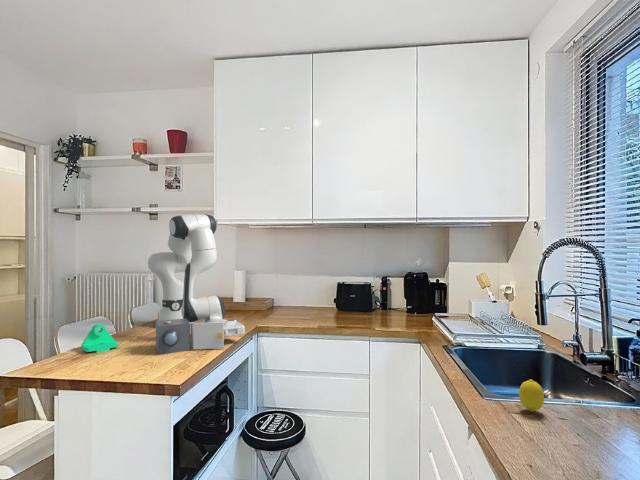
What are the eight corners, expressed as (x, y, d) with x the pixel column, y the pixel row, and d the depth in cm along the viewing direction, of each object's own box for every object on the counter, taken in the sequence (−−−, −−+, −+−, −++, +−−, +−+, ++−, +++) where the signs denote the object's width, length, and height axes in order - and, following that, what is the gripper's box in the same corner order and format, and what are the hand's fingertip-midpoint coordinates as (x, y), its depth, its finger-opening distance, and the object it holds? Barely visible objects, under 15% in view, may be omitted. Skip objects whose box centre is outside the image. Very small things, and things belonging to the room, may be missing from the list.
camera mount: (86, 354, 156) (86, 328, 156) (81, 351, 162) (81, 326, 162) (119, 349, 165) (119, 324, 165) (113, 345, 170) (113, 321, 170)
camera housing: (155, 347, 166) (155, 319, 166) (186, 343, 171) (185, 316, 171) (158, 355, 153) (158, 325, 153) (191, 351, 158) (190, 322, 158)
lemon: (523, 416, 97) (523, 383, 97) (516, 406, 102) (515, 375, 102) (548, 417, 96) (547, 383, 96) (539, 407, 101) (538, 376, 101)
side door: (224, 347, 162) (223, 322, 162) (223, 348, 161) (223, 322, 161) (191, 348, 161) (191, 323, 161) (190, 349, 159) (190, 323, 160)
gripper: (192, 324, 170) (198, 330, 158) (239, 319, 179) (248, 325, 167) (192, 338, 170) (198, 346, 158) (239, 333, 179) (248, 340, 167)
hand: (224, 335), depth 163 cm, fingers closed
